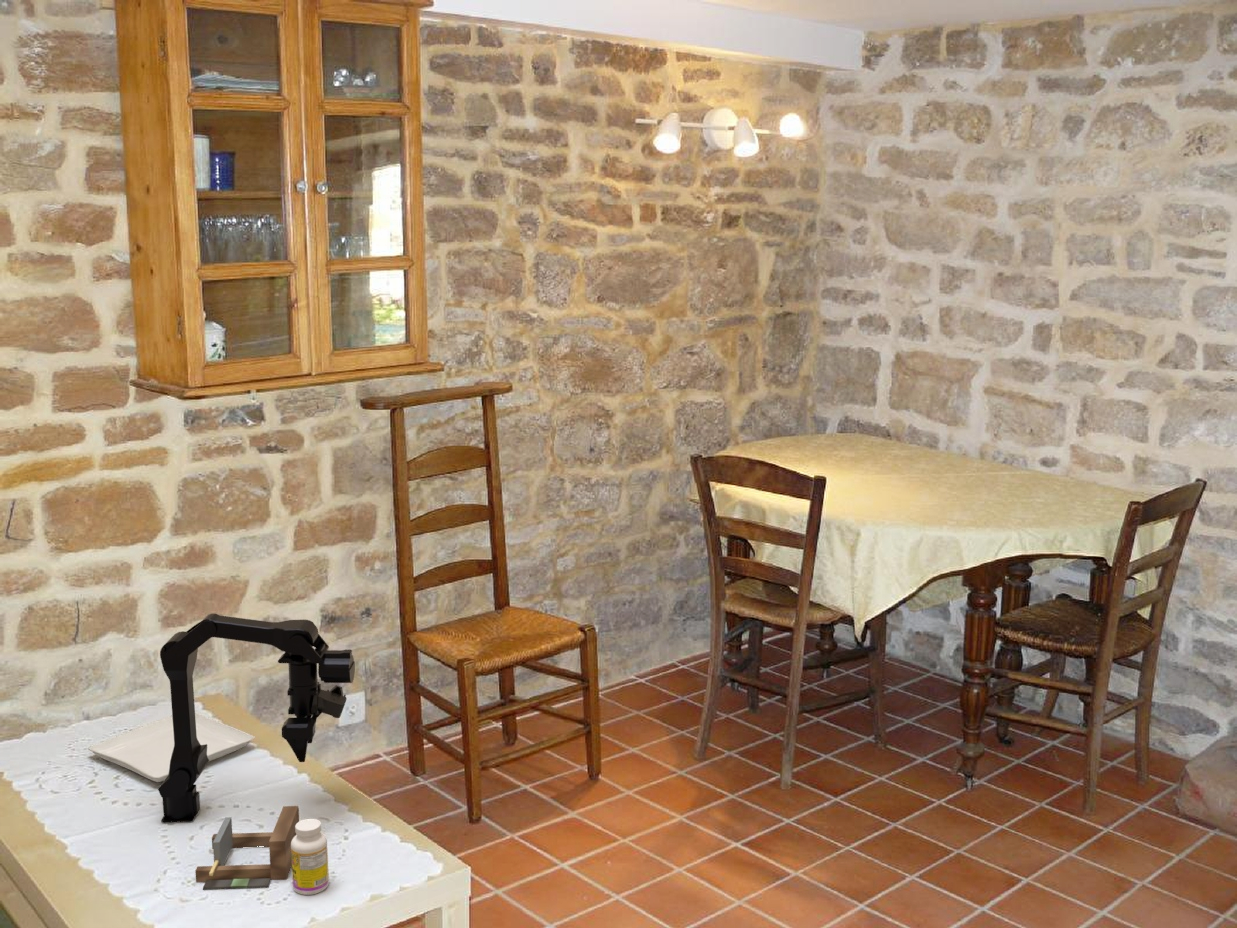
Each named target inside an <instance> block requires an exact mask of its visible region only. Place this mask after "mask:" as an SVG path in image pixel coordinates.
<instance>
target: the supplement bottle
mask: <svg viewBox="0 0 1237 928" xmlns="http://www.w3.org/2000/svg"><path fill="white" fill-rule="evenodd" d="M295 832H296V834H297V835H296V836H294V838H293V839H292V841H291V858H292V867H291V872H292V873H291V875H292V889H294V891H295V892H296V893H298V894H300V895H305V896H306V895H307V896H308V895H309V896H310V895H316V894H318V893H321V892H323V891H324V890H326V888H327V887H328V886H329V883H330V878H329V877H330V876H329V875H330V874H329V872H330V871H329V857H328V856H329V855H328V838H327V836H326V834H325V833H323V832H322V823H321V821H320V820H318V819H316V818H307V819H302V820H299V822H298V823H297V824H296V825H295Z"/></svg>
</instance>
